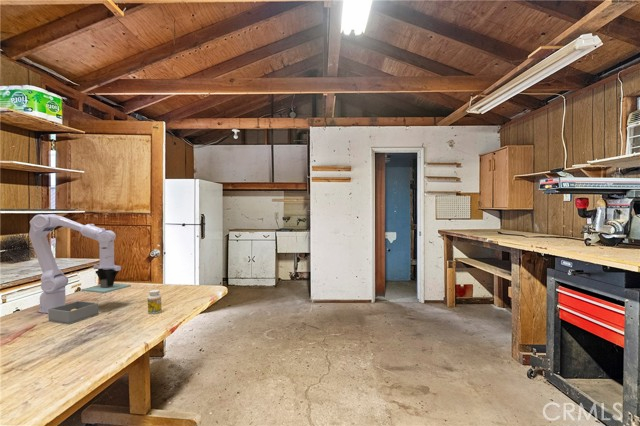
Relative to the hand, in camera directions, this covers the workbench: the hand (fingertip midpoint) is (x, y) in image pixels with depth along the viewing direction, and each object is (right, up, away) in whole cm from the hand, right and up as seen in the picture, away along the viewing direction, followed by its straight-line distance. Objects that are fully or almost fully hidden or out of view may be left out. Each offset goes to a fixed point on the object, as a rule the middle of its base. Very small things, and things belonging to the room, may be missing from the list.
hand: (107, 285), depth 146 cm
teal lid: (0, -2, 0) cm, 2 cm away
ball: (-5, -8, -14) cm, 17 cm away
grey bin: (-5, -11, -14) cm, 18 cm away
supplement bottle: (+26, -11, -7) cm, 29 cm away
